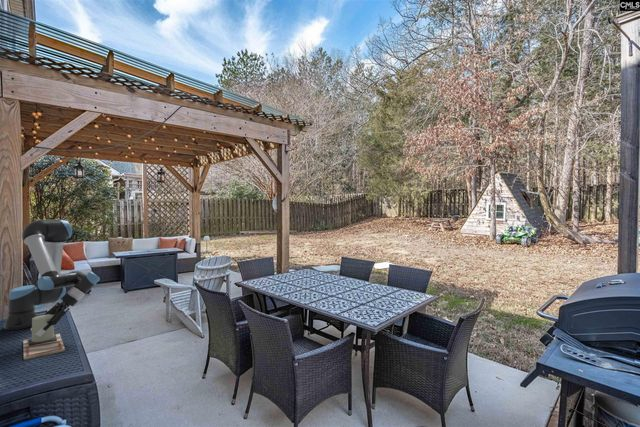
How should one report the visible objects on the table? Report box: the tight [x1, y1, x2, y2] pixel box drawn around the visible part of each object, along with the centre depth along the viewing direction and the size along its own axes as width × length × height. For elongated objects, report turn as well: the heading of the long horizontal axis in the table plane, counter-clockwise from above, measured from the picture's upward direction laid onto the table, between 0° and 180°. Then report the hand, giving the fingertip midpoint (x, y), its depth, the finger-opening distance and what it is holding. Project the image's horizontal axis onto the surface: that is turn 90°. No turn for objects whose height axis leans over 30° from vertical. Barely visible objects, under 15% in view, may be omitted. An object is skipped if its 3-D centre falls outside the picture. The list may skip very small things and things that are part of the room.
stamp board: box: [22, 332, 66, 361], centre depth 163 cm, size 28×15×2 cm, turn 44°
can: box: [31, 314, 55, 342], centre depth 168 cm, size 9×9×12 cm
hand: (34, 333), depth 166 cm, fingers closed on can, 9 cm apart
